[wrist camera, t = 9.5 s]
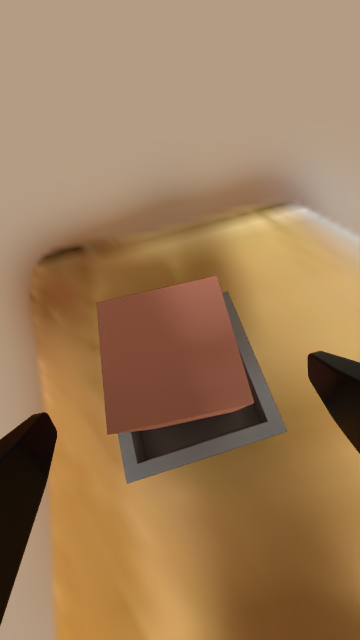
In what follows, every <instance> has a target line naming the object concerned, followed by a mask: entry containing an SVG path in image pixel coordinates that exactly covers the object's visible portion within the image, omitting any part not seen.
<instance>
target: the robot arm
mask: <svg viewBox="0 0 360 640" xmlns="http://www.w3.org/2000/svg"><path fill="white" fill-rule="evenodd" d="M308 376H309V379H310V382H311V383H312V385H313V387H314V388H315V390H316V391H317V393H318V395H319V396H320V398H321V400H322V401H323V403H324V405H325V406H326V408H327V410H328V411H329V413H330V414H331V416H332V417H333V419H334V421H335V422H336V423H337V425H338V426H339V427H340V429H341V430H342V431H343V433H344V434H345V435H346V437H347V438H348V439H349V441H350V442H351V443H352V444H353V446H354V447H355V448H356V450H357V451H358V452H359V454H360V363H359V362H356V361H353V360H350V359H346V358H343V357H340V356H336V355H333V354H330V353H326V352H323V351H318V352H314V353H310V354H309V355H308ZM56 439H57V431H56V428H55V426H54V424H53V423H52V421H51V419H50V417H49V415H48V414H47V413H45V412H43V413H38V414H34V415H32V416H31V417H29V418H28V419H27V420H25V421H24V422H23V423H21V424H20V425H19V426H17V427H16V428H15V429H14V430H12V431H11V432H10V433H8V434H7V435H6V436H5V437H3V438H2V439H0V625H1V622H2V619H3V616H4V613H5V609H6V607H7V604H8V600H9V597H10V594H11V591H12V588H13V585H14V582H15V579H16V576H17V573H18V570H19V567H20V564H21V560H22V557H23V554H24V551H25V548H26V545H27V542H28V539H29V536H30V533H31V530H32V526H33V523H34V520H35V517H36V514H37V511H38V508H39V505H40V502H41V498H42V496H43V493H44V489H45V486H46V483H47V479H48V475H49V470H50V466H51V461H52V457H53V452H54V448H55V443H56Z"/></svg>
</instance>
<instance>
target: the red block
mask: <svg viewBox="0 0 360 640" xmlns="http://www.w3.org/2000/svg"><path fill="white" fill-rule="evenodd" d="M97 313H98V325H99V337H100V350H101V362H102V374H103V387H104V399H105V411H106V424H107V435H108V434H116V433H125V432H133V431H142V430H150V429H158V428H162V427H167V426H172V425H176V424H181V423H186V422H190V421H195V420H200V419H204V418H209V417H214V416H218V415H223V414H228V413H232V412H234V411H237V410H239V409H241V408H244V407H246V406H248V405H251V404H253V403H254V400H253V396H252V393H251V389H250V386H249V383H248V379H247V376H246V373H245V369H244V366H243V362H242V359H241V356H240V352H239V349H238V346H237V342H236V339H235V335H234V332H233V329H232V325H231V322H230V318H229V315H228V312H227V308H226V305H225V302H224V298H223V295H222V291H221V288H220V285H219V281H218V278H217V276H213V277H209V278H204V279H200V280H196V281H191V282H187V283H182V284H178V285H173V286H169V287H165V288H160V289H156V290H151V291H147V292H142V293H138V294H134V295H129V296H125V297H120V298H116V299H111V300H107V301H102V302H98V303H97Z"/></svg>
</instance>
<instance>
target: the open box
mask: <svg viewBox="0 0 360 640" xmlns="http://www.w3.org/2000/svg"><path fill="white" fill-rule="evenodd" d="M222 295H223V298H224V302H225V305H226V308H227V312H228V315H229V318H230V322H231V325H232V329H233V332H234V335H235V339H236V342H237V346H238V349H239V352H240V356H241V359H242V362H243V366H244V369H245V373H246V376H247V379H248V383H249V386H250V389H251V393H252V396H253V400H254V403H253V404H251V405H248V406H246V407H244V408H241V409H239V410H237V411H234V412H232V413H228V414H223V415H218V416H214V417H209V418H204V419H200V420H195V421H190V422H186V423H181V424H176V425H172V426H167V427H162V428H158V429H150V430H142V431H133V432H125V433H118V438H119V443H120V449H121V454H122V460H123V465H124V470H125V476H126V481H127V484H128V483H131V482H134V481H137V480H140V479H143V478H146V477H149V476H153V475H156V474H159V473H162V472H165V471H168V470H171V469H174V468H177V467H180V466H183V465H186V464H189V463H192V462H195V461H198V460H202V459H205V458H208V457H211V456H214V455H217V454H220V453H223V452H226V451H229V450H232V449H235V448H238V447H241V446H244V445H247V444H251V443H254V442H257V441H260V440H263V439H266V438H269V437H272V436H275V435H278V434H281V433H284V432H287V430H286V428H285V426H284V423H283V421H282V418H281V416H280V414H279V411H278V409H277V407H276V404H275V402H274V400H273V397H272V395H271V393H270V390H269V388H268V385H267V383H266V381H265V378H264V376H263V374H262V371H261V369H260V367H259V364H258V362H257V360H256V357H255V355H254V352H253V350H252V348H251V345H250V343H249V341H248V338H247V336H246V334H245V331H244V329H243V327H242V324H241V322H240V319H239V317H238V315H237V312H236V310H235V308H234V305H233V303H232V301H231V298H230V296H229V293H228V291H227V292H224V293H222Z"/></svg>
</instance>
